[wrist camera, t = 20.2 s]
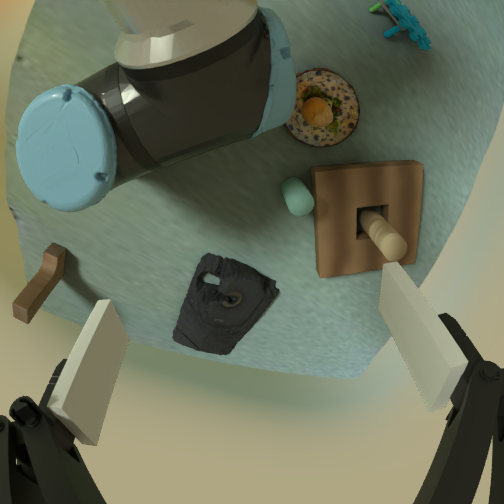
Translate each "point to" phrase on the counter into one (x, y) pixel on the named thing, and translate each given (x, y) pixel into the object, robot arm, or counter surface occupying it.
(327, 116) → the burger
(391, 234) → the long maple pin
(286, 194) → the short teal pin
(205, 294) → the dark slate chunk
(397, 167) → the walnut hole board
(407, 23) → the gear
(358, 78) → the counter surface
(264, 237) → the counter surface
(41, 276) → the wooden block
